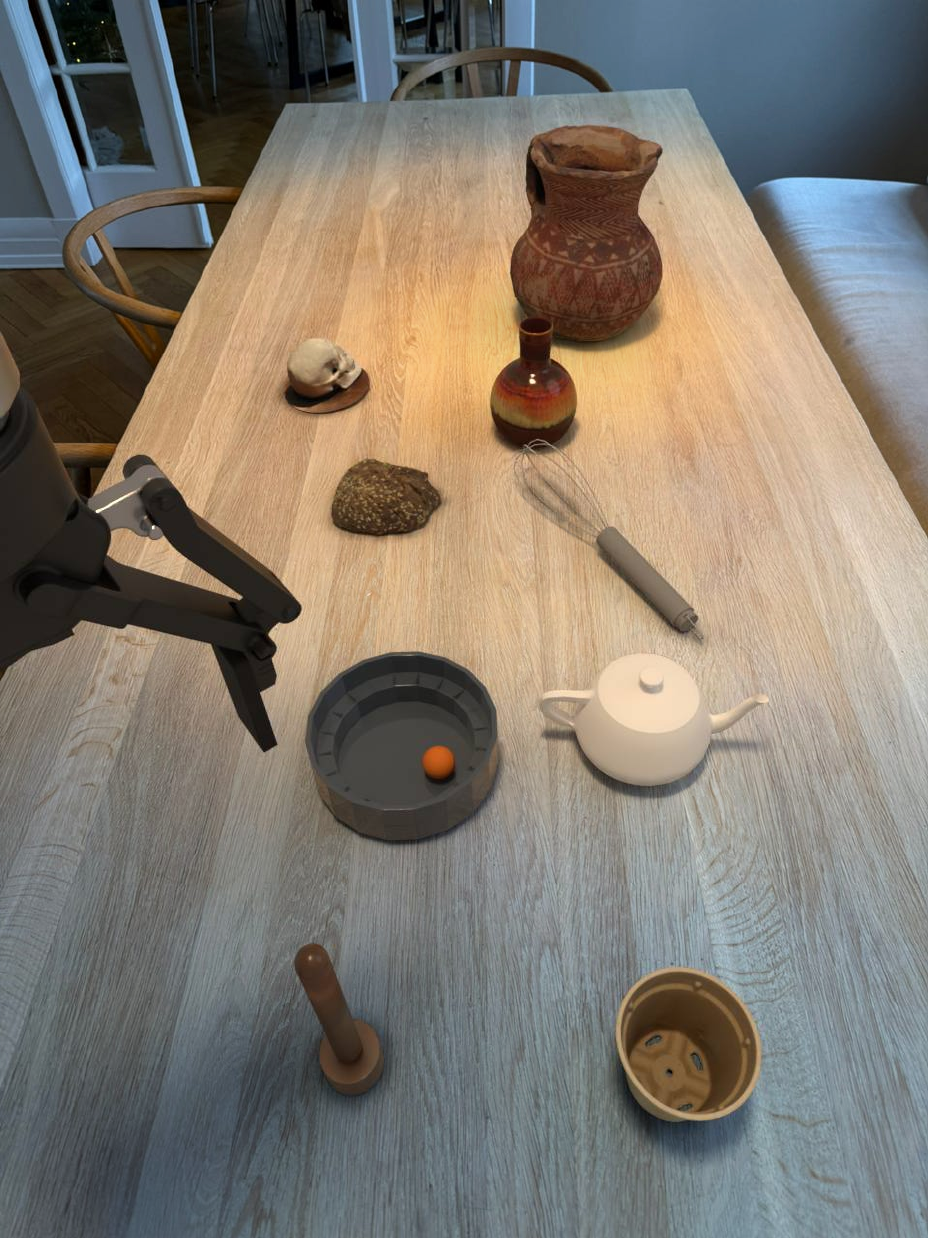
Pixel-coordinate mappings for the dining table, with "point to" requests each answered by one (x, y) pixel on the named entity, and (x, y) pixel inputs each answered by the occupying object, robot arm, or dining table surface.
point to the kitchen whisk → (626, 556)
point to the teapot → (643, 719)
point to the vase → (533, 391)
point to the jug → (587, 232)
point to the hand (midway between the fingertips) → (127, 806)
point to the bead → (438, 762)
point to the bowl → (402, 744)
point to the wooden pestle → (339, 1026)
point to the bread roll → (383, 498)
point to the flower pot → (687, 1045)
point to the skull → (323, 377)
